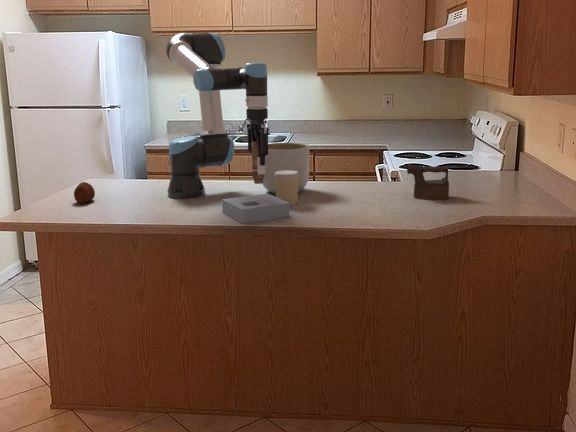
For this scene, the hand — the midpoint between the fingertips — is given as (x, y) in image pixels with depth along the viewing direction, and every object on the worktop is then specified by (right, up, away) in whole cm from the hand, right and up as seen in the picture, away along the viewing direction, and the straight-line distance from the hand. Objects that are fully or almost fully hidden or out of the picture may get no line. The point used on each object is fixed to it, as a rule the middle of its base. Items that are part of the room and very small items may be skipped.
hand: (258, 172), depth 230 cm
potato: (-70, -10, +24) cm, 75 cm away
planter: (+9, -6, +34) cm, 36 cm away
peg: (0, -4, +1) cm, 4 cm away
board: (-1, -15, -3) cm, 15 cm away
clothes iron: (+66, -9, +18) cm, 69 cm away
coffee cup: (+10, -11, +14) cm, 21 cm away
